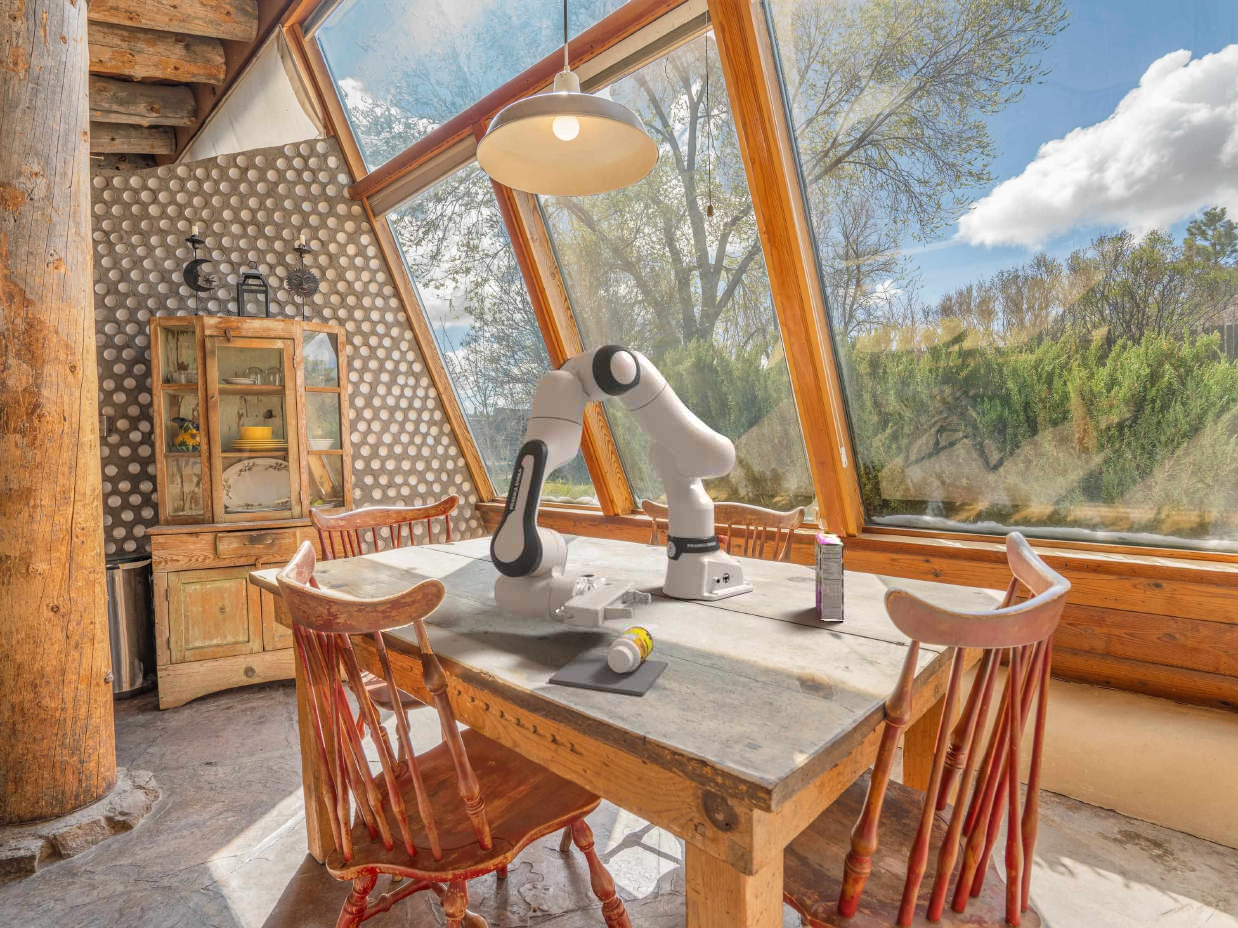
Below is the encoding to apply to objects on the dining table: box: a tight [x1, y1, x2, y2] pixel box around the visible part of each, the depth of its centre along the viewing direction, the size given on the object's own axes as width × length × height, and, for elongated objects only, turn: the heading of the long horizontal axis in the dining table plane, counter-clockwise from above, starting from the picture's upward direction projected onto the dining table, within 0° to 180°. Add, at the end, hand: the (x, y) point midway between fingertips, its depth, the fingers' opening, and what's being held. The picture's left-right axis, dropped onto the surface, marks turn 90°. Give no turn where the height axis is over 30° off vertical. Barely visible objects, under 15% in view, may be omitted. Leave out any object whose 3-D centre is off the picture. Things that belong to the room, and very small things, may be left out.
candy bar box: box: [814, 533, 845, 621], centre depth 138 cm, size 11×5×16 cm, turn 168°
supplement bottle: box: [607, 625, 655, 673], centre depth 109 cm, size 6×6×10 cm
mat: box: [548, 651, 669, 697], centre depth 107 cm, size 13×16×1 cm
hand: (641, 605), depth 119 cm, fingers open, 8 cm apart
